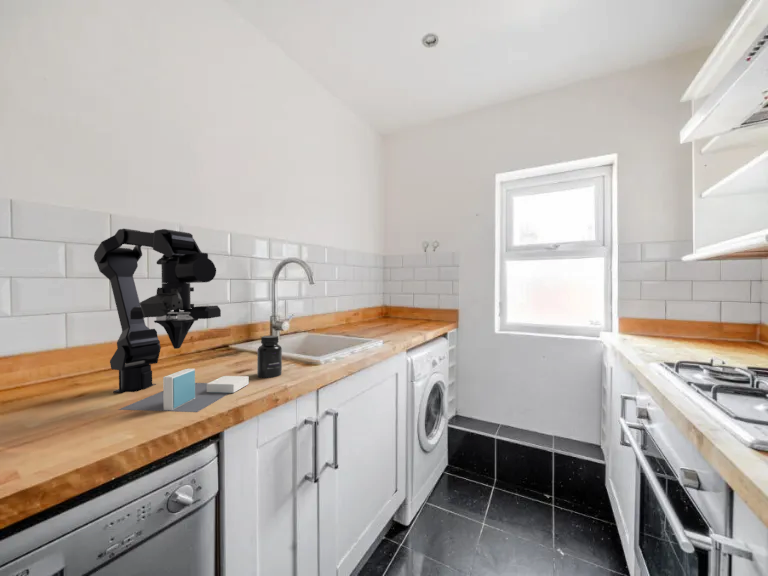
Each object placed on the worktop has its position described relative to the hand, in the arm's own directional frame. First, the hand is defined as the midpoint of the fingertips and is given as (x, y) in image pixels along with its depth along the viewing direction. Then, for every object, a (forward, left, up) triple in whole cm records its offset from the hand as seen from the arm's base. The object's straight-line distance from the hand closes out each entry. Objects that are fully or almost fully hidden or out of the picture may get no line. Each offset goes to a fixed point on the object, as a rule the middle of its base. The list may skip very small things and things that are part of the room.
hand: (177, 348), depth 75 cm
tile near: (+4, -4, -12) cm, 13 cm away
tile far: (+5, +7, -10) cm, 13 cm away
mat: (+2, +1, -12) cm, 12 cm away
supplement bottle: (+14, +20, -12) cm, 27 cm away
